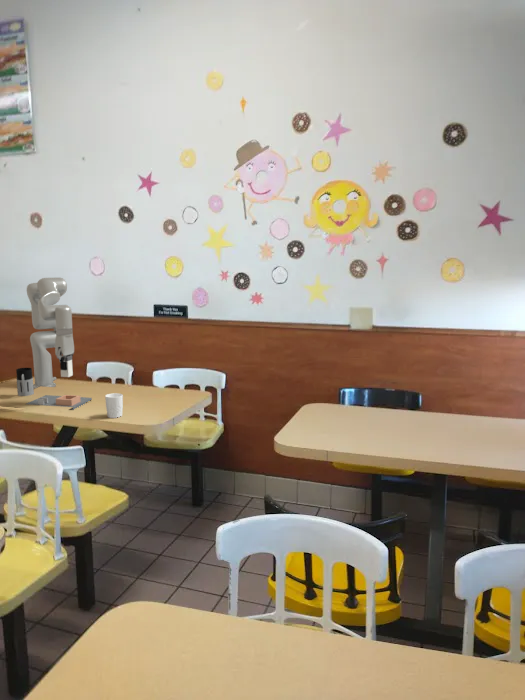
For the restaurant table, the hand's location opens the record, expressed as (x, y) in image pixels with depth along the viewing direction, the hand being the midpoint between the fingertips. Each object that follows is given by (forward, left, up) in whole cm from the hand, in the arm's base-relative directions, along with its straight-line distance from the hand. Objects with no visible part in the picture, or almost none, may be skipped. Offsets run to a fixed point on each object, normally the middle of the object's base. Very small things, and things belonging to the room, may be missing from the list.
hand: (66, 368), depth 267 cm
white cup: (+11, +30, -19) cm, 37 cm away
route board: (-3, -7, -19) cm, 20 cm away
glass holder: (-9, -30, -19) cm, 37 cm away
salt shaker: (0, 0, -4) cm, 4 cm away
